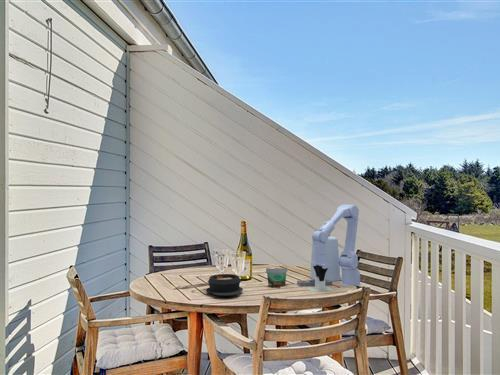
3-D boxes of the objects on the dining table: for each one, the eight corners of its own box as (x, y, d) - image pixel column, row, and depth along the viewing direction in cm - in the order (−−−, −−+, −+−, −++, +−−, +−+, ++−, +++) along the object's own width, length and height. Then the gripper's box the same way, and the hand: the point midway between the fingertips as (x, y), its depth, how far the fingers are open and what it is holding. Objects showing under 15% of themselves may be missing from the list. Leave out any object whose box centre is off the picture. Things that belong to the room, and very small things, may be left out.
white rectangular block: (323, 287, 205) (323, 276, 205) (325, 289, 202) (325, 277, 202) (315, 288, 204) (315, 276, 204) (316, 289, 201) (316, 277, 201)
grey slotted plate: (328, 283, 217) (328, 278, 217) (332, 286, 211) (332, 280, 211) (297, 285, 215) (297, 279, 215) (300, 287, 209) (300, 281, 209)
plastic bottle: (308, 278, 234) (307, 231, 235) (330, 276, 238) (330, 230, 239) (319, 283, 219) (318, 233, 220) (343, 281, 223) (342, 232, 224)
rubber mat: (328, 287, 208) (328, 286, 208) (334, 291, 200) (334, 290, 200) (307, 288, 206) (307, 287, 206) (311, 292, 198) (311, 291, 198)
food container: (269, 288, 206) (269, 269, 207) (265, 286, 212) (265, 267, 213) (291, 287, 210) (291, 268, 210) (287, 284, 216) (286, 266, 216)
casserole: (204, 288, 207) (204, 272, 208) (238, 287, 211) (238, 271, 211) (208, 300, 183) (208, 282, 183) (247, 298, 186) (247, 280, 187)
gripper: (308, 252, 210) (308, 277, 210) (317, 256, 196) (317, 283, 196) (321, 252, 211) (321, 277, 211) (330, 255, 197) (330, 282, 197)
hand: (320, 280), depth 203 cm, fingers open, 3 cm apart
